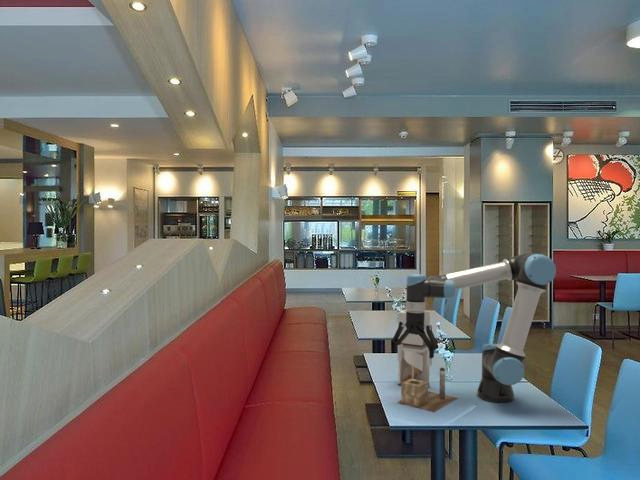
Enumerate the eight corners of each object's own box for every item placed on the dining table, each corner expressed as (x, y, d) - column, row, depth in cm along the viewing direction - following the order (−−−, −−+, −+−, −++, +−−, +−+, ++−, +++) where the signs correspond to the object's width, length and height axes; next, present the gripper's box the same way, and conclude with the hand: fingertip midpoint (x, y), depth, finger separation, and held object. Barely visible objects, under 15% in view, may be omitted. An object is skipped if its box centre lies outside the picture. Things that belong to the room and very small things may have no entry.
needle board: (458, 401, 219) (458, 367, 219) (434, 416, 202) (434, 378, 202) (422, 393, 230) (422, 360, 230) (396, 406, 213) (396, 371, 212)
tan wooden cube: (427, 401, 215) (428, 382, 215) (418, 406, 209) (418, 386, 208) (410, 397, 220) (410, 378, 220) (401, 402, 214) (401, 382, 213)
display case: (397, 388, 236) (398, 312, 236) (405, 382, 246) (406, 309, 245) (421, 392, 231) (422, 314, 230) (429, 386, 240) (430, 311, 239)
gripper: (384, 309, 218) (383, 359, 219) (439, 316, 203) (438, 370, 203) (393, 307, 224) (392, 356, 225) (447, 314, 208) (446, 366, 209)
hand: (414, 362), depth 214 cm, fingers open, 13 cm apart
